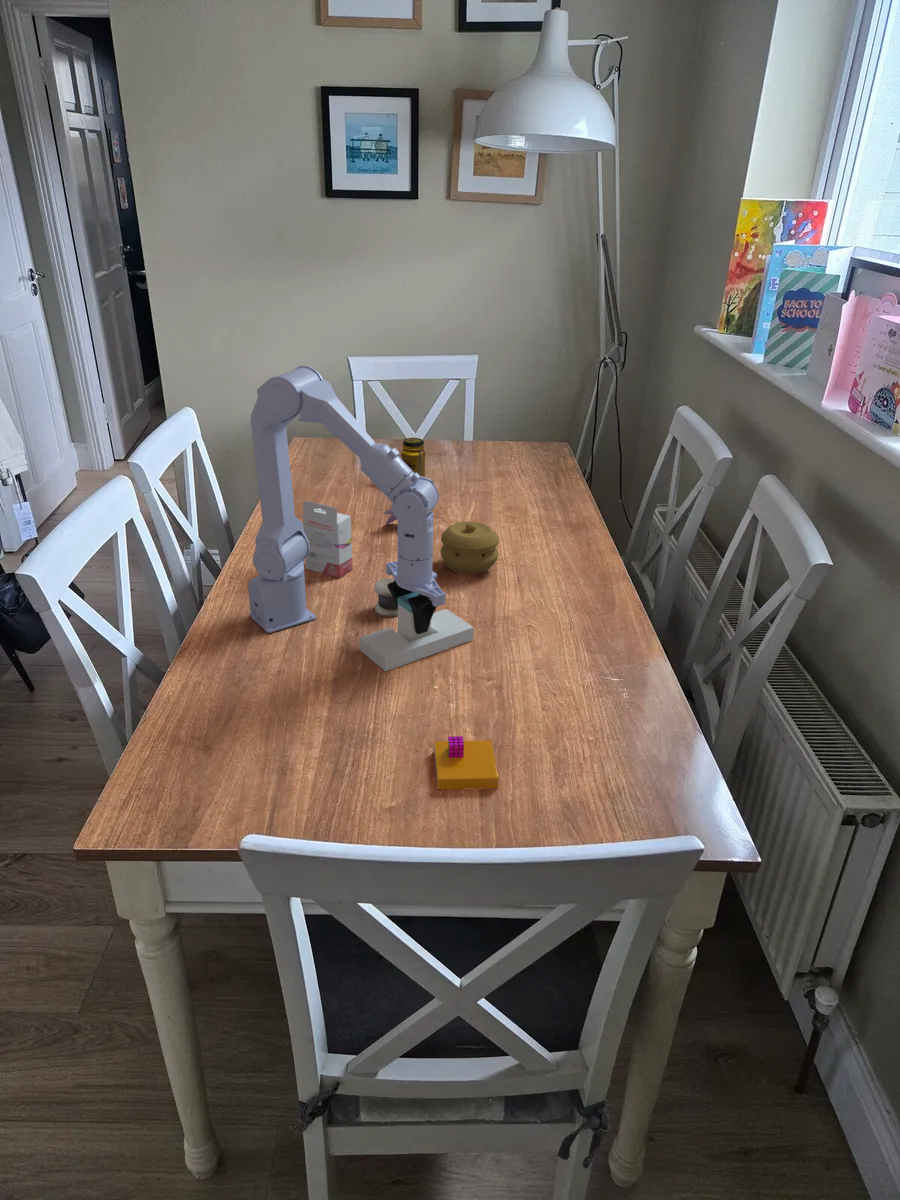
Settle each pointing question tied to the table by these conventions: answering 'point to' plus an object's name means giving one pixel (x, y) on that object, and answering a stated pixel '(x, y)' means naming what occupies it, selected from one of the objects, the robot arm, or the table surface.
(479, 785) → the mustard square tile
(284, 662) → the table surface
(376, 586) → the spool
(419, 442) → the condiment
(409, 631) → the teal and white block
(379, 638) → the notched board
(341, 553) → the ink cartridge box
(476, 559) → the pot
